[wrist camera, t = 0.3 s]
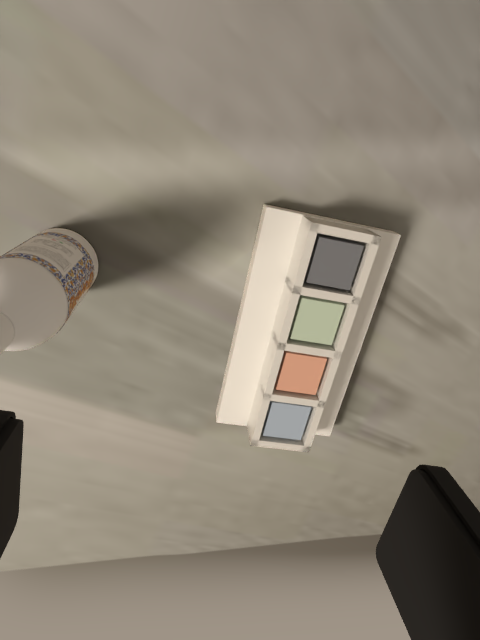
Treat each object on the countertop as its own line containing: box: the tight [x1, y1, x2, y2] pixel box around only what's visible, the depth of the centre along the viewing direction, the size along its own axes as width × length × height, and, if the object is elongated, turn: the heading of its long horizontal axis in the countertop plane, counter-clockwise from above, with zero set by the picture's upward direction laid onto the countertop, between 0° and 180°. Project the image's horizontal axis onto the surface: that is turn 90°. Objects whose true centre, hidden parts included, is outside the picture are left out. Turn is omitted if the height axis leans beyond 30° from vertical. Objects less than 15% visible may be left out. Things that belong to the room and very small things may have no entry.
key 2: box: [289, 295, 345, 345], centre depth 43 cm, size 4×4×2 cm
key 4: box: [262, 401, 311, 440], centre depth 48 cm, size 4×4×2 cm
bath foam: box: [0, 228, 98, 354], centre depth 34 cm, size 7×7×20 cm
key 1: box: [304, 234, 364, 290], centre depth 41 cm, size 4×4×2 cm
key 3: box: [275, 351, 327, 395], centre depth 45 cm, size 4×4×2 cm
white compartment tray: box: [216, 204, 401, 452], centre depth 46 cm, size 25×14×6 cm, turn 168°
